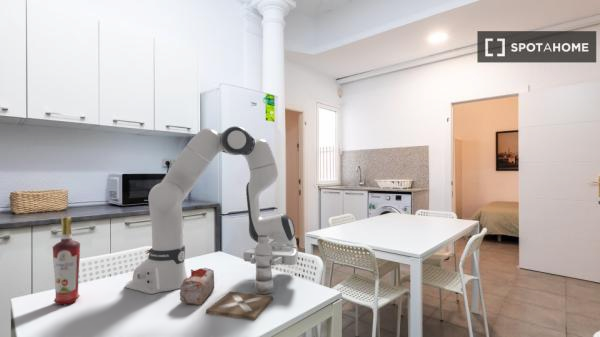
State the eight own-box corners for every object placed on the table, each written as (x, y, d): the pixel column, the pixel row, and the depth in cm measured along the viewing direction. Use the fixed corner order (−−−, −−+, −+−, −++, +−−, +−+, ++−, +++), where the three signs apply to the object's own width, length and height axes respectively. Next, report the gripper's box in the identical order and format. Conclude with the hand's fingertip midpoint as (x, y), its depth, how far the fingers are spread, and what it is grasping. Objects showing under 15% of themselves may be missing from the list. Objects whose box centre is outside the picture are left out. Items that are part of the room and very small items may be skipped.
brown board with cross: (206, 313, 96) (206, 309, 96) (230, 294, 110) (230, 291, 110) (254, 319, 91) (254, 316, 91) (273, 299, 106) (273, 295, 106)
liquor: (50, 308, 100) (49, 220, 100) (56, 300, 106) (55, 216, 106) (78, 304, 103) (77, 218, 103) (82, 296, 109) (81, 215, 109)
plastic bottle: (270, 297, 107) (270, 238, 107) (251, 295, 109) (251, 237, 109) (275, 290, 114) (275, 234, 114) (257, 288, 115) (257, 233, 115)
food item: (202, 307, 100) (202, 276, 100) (178, 307, 101) (177, 276, 101) (216, 290, 114) (216, 263, 114) (194, 290, 114) (194, 263, 114)
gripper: (251, 242, 126) (235, 251, 113) (301, 245, 121) (290, 255, 107) (252, 258, 126) (235, 268, 113) (301, 262, 121) (290, 273, 107)
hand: (262, 262), depth 110 cm, fingers closed on plastic bottle, 6 cm apart
